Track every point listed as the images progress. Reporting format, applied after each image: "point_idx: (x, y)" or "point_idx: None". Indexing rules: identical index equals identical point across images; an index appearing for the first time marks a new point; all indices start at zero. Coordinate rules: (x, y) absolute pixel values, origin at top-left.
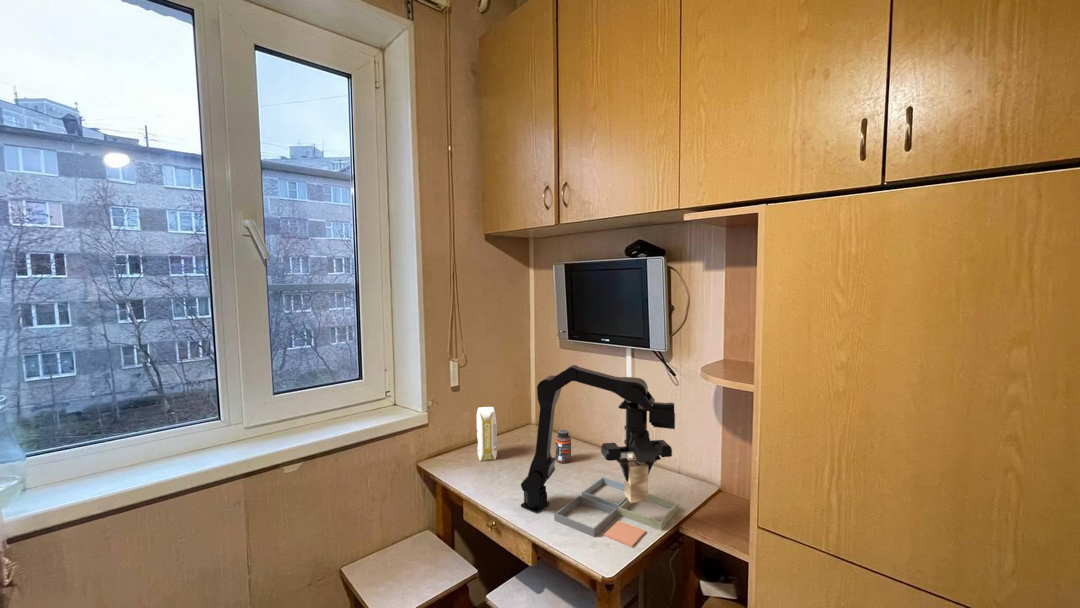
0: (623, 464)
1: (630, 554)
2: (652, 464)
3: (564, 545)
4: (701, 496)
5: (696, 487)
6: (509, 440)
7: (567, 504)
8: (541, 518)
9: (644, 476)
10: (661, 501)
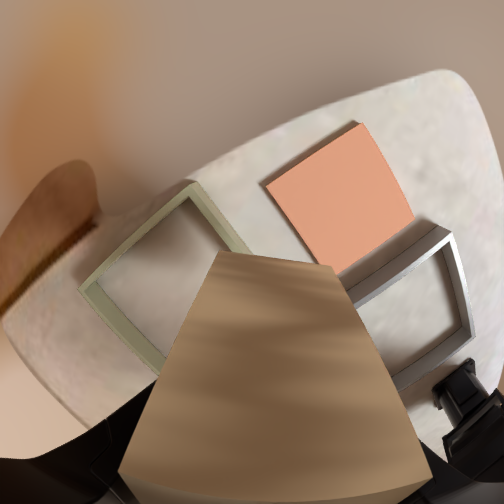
0: (470, 487)
1: (380, 96)
2: (61, 452)
3: (499, 219)
4: (28, 309)
5: (33, 344)
6: None
7: (428, 372)
8: (476, 338)
9: (219, 365)
10: (124, 326)
